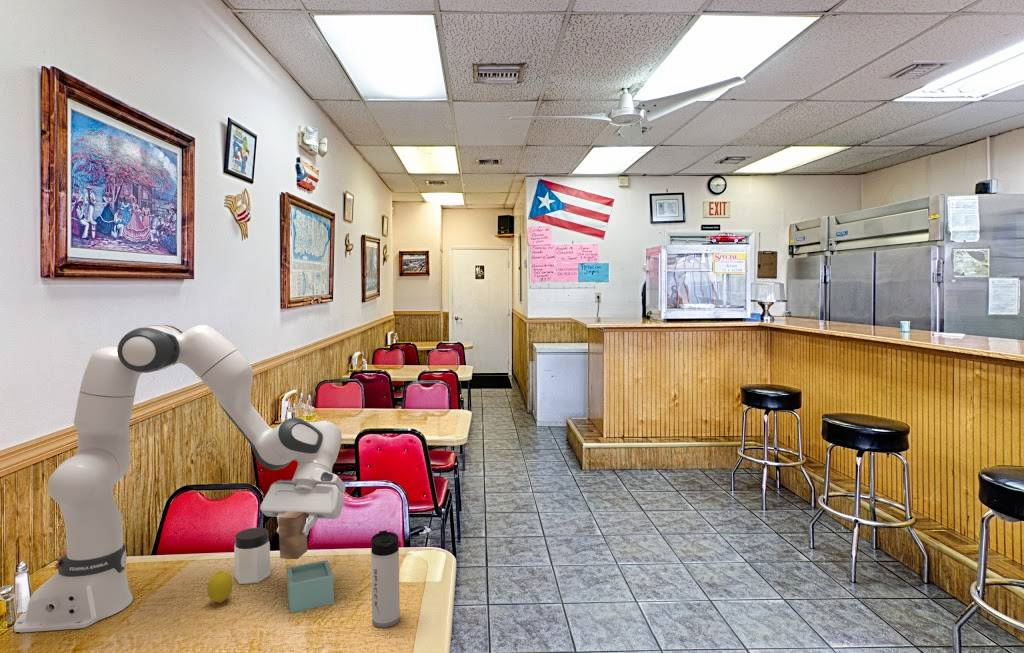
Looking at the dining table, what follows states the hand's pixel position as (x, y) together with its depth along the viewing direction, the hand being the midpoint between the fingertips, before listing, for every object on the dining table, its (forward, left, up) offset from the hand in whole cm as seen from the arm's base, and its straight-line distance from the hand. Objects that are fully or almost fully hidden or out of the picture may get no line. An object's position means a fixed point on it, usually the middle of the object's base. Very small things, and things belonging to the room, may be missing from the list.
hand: (291, 533), depth 137 cm
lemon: (-17, +8, -18) cm, 27 cm away
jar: (-11, +20, -18) cm, 30 cm away
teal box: (+4, +3, -19) cm, 19 cm away
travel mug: (+21, -13, -18) cm, 31 cm away
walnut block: (0, +1, -5) cm, 5 cm away
